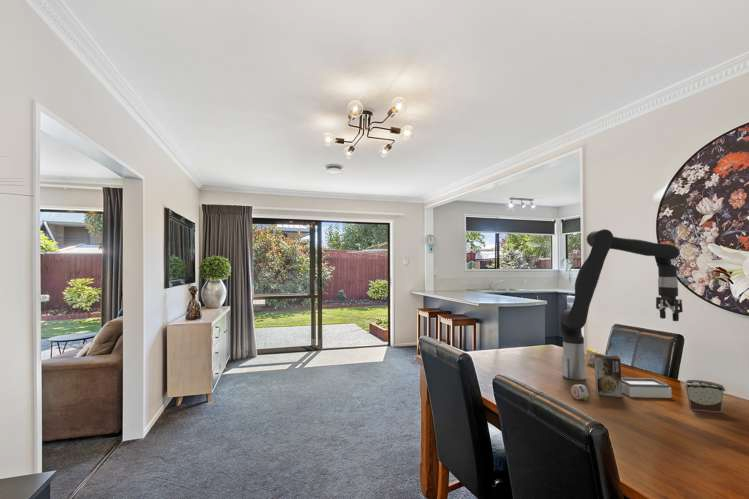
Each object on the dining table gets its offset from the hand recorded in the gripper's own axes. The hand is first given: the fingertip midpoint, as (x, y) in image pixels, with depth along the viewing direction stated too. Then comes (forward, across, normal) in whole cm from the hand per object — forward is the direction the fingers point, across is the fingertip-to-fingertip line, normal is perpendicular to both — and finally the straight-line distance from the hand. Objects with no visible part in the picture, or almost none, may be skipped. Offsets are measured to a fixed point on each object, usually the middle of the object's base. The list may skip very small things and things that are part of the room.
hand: (669, 319), depth 177 cm
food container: (+29, +36, -14) cm, 48 cm away
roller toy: (+29, +28, -56) cm, 69 cm away
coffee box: (+29, +22, -40) cm, 54 cm away
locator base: (+29, +20, -26) cm, 43 cm away
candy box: (+29, -20, -23) cm, 42 cm away
